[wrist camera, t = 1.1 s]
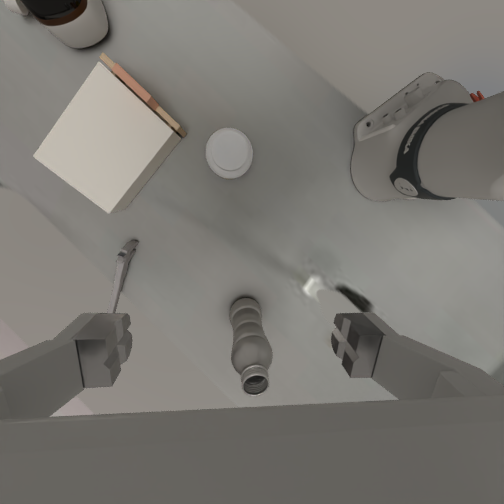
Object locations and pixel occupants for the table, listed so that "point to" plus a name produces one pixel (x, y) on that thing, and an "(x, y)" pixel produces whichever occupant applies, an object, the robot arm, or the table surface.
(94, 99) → the sleeve
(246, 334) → the plastic bottle
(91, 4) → the spread jar
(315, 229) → the table surface
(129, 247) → the caliper
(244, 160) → the supplement bottle
